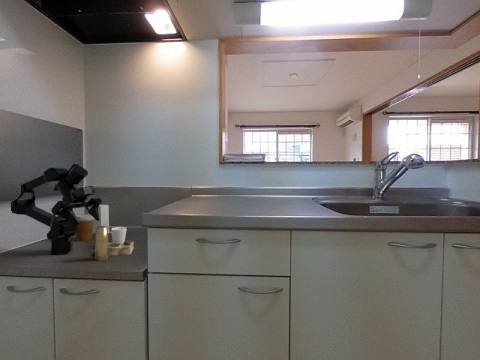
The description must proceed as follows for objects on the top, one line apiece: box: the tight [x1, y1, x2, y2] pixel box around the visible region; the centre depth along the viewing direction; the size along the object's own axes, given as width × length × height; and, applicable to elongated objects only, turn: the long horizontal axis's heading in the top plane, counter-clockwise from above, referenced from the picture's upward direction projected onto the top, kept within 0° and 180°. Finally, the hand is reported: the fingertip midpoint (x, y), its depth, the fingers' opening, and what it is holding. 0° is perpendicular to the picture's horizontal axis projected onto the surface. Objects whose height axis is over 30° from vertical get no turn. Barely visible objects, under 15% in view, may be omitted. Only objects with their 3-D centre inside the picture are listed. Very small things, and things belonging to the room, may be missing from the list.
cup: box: [108, 226, 128, 243], centre depth 119 cm, size 7×10×8 cm
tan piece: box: [94, 226, 109, 261], centre depth 101 cm, size 4×4×12 cm
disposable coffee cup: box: [75, 213, 94, 242], centre depth 130 cm, size 10×10×12 cm
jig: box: [108, 240, 135, 257], centre depth 110 cm, size 12×9×4 cm
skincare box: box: [92, 204, 110, 235], centre depth 145 cm, size 8×7×16 cm
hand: (89, 222), depth 104 cm, fingers open, 9 cm apart
